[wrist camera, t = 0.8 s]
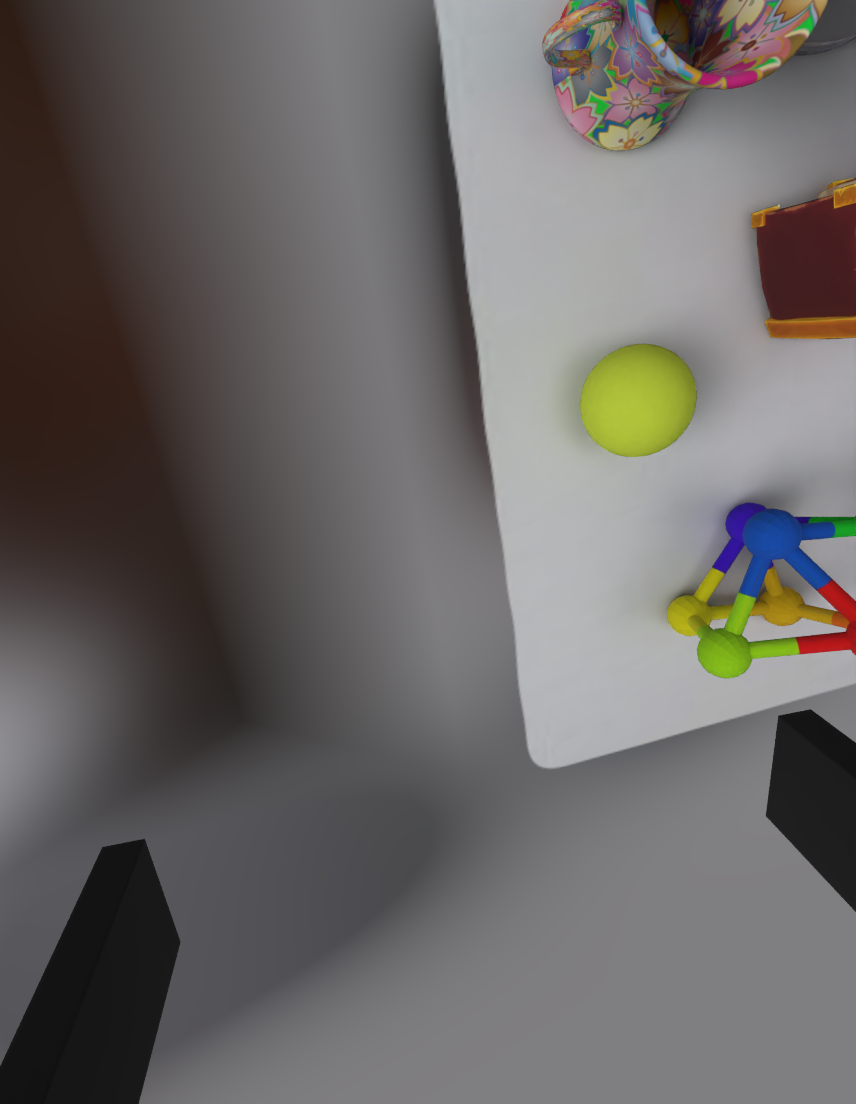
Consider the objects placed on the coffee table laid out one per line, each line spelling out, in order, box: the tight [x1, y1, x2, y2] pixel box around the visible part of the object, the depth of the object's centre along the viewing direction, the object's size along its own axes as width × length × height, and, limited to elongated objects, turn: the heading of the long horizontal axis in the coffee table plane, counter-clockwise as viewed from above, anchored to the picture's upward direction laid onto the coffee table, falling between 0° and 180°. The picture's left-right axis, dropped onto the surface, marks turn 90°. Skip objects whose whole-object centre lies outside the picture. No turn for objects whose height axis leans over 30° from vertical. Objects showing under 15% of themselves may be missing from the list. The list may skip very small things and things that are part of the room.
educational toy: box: [667, 503, 856, 678], centre depth 38 cm, size 16×13×15 cm
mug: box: [542, 0, 828, 151], centre depth 28 cm, size 12×9×11 cm
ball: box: [580, 344, 697, 457], centre depth 36 cm, size 7×7×7 cm
